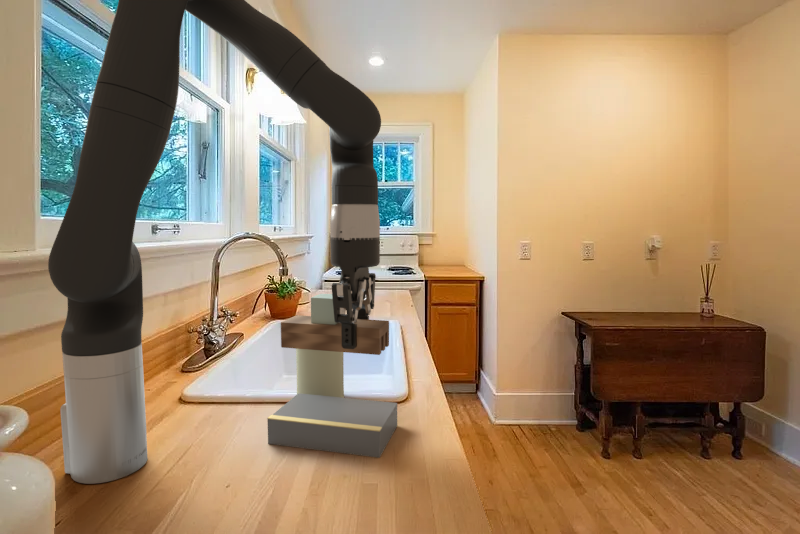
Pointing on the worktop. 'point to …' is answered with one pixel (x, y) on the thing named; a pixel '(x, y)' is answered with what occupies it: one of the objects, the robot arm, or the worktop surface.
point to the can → (320, 372)
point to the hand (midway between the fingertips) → (355, 342)
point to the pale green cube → (322, 309)
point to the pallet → (334, 335)
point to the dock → (334, 424)
